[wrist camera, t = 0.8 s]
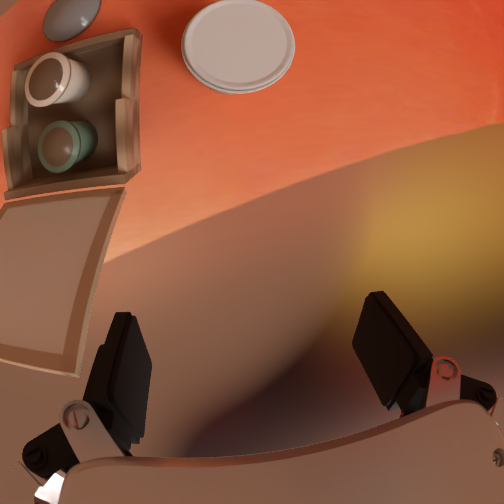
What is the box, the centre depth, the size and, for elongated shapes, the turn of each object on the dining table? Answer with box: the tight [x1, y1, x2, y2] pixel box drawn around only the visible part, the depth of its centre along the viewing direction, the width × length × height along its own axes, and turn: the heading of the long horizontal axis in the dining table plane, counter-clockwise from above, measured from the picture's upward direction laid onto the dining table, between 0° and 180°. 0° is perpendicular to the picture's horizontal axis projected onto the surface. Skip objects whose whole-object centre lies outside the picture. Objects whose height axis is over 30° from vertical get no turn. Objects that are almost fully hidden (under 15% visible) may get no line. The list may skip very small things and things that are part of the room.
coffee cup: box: [181, 0, 295, 94], centre depth 22 cm, size 9×9×12 cm
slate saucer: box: [43, 0, 101, 42], centre depth 19 cm, size 9×9×1 cm
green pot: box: [38, 120, 98, 173], centre depth 25 cm, size 6×6×6 cm
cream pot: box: [25, 52, 92, 107], centre depth 21 cm, size 6×6×7 cm
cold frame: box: [2, 28, 142, 200], centre depth 23 cm, size 18×18×7 cm
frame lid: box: [0, 187, 126, 377], centre depth 18 cm, size 19×18×1 cm
